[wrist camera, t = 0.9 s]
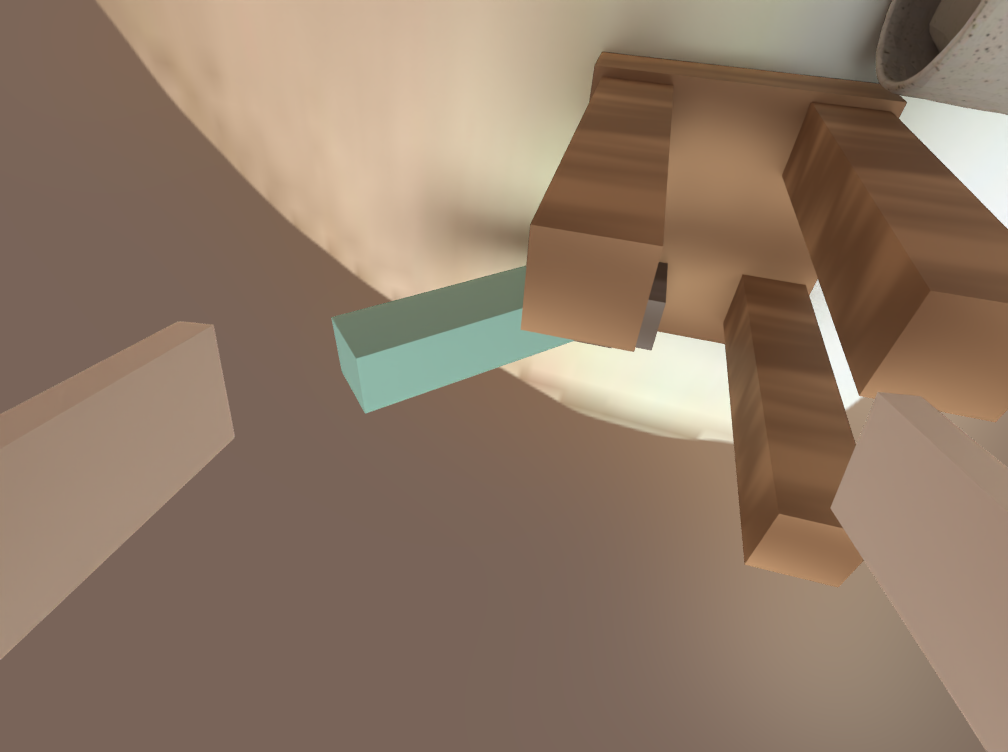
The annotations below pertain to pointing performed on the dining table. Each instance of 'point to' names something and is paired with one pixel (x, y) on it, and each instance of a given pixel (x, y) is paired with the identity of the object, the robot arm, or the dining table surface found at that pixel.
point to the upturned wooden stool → (774, 268)
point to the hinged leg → (435, 338)
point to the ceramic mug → (946, 52)
